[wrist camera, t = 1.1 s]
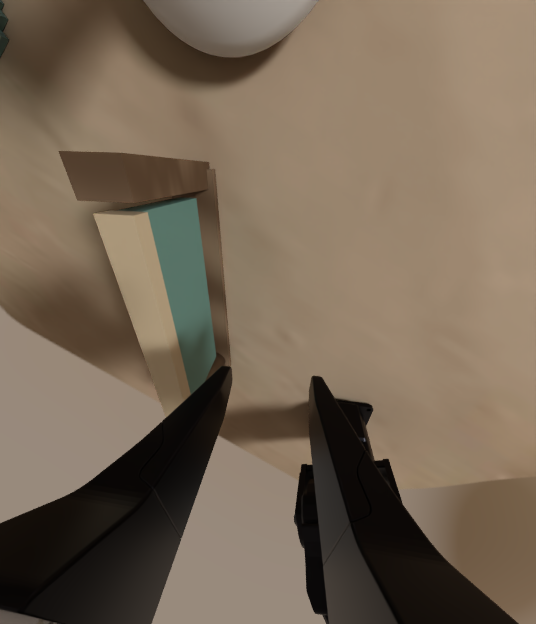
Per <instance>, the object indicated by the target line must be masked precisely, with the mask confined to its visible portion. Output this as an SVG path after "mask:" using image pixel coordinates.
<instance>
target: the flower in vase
mask: <svg viewBox="0 0 536 624" xmlns="http://www.w3.org/2000/svg"><path fill="white" fill-rule="evenodd" d="M143 1H144V2H145V3H146V5H147V6H148V7H149V9H150V10H151V11H152V13H153V14H154V15H155V16H156V17H157V18H158V19H159V21H160V22H161V23H162V24H163V25H164V26H165V27H166V28H167V29H168V30H169V31H171V32H172V33H173V34H174V35H175V36H177V37H178V38H179V39H180V40H182V41H183V42H185V43H187V44H188V45H190V46H191V47H193V48H195V49H197V50H200V51H202V52H205V53H207V54H210V55H215V56H220V57H243V56H248V55H253V54H255V53H258V52H260V51H263V50H265V49H267V48H269V47H271V46H272V45H274V44H276V43H277V42H279V41H281V40H282V39H283V38H284V37H286V36H287V35H288V34H289V33H290V32H292V31H293V30H294V29H295V28H296V27H297V26H298V25H299V24H300V23H301V22H302V20H303V19H304V18H305V17H306V16H307V15H308V14H309V13H310V11H311V10H312V8H313V7H314V6H315V4H316V3H317V2H318V0H143Z"/></svg>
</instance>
